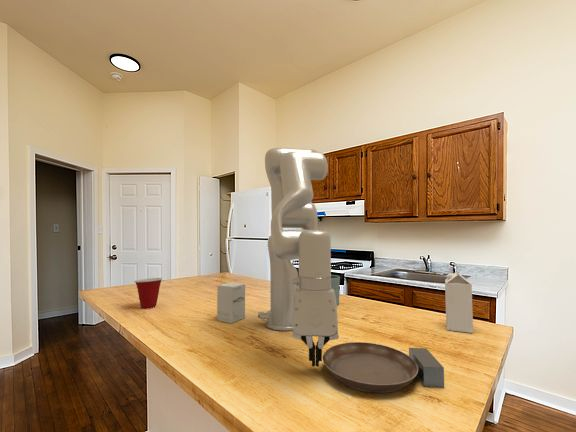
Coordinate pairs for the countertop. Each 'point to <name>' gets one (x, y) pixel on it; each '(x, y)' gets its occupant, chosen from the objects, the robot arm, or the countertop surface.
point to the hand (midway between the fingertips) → (315, 363)
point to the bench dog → (427, 367)
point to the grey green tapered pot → (335, 286)
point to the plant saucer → (370, 366)
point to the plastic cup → (148, 291)
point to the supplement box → (230, 302)
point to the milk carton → (458, 303)
